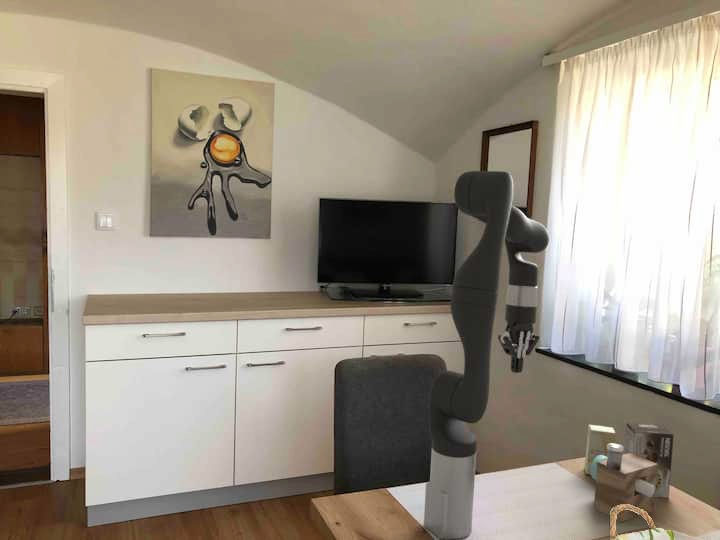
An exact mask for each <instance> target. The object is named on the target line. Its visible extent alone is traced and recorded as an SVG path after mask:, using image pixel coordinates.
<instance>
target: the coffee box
mask: <svg viewBox="0 0 720 540" xmlns="http://www.w3.org/2000/svg"><path fill="white" fill-rule="evenodd" d="M625 433H626V434H625V443H624V454H628V453H632V454H635V455H637V456H640V457H642V458H644V459H647V460H649V461H652V462H654V463H657V464H658V470H657V481H656V492H655V498H666V499H667V498H670V490H671V489H670V487H671V475H672V473H671V472H672V471H671V470H672V460H673V447H674V437H675V436H674V433H673V432H671V431H670V429H669V428H667V426H665V425H664V424H652V423H651V424H650V423H633V422H631V423H630V422H626V430H625Z"/></svg>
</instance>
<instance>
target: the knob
mask: <svg viewBox="0 0 720 540" xmlns="http://www.w3.org/2000/svg"><path fill="white" fill-rule="evenodd" d="M606 459H607V457H606V456H604V455H599V456H597V457H596V458H595V459H594V460H593V462H592V465H591V470H590V472H591V475H590V476H591V477H592V479H594V480H596V475H597V463H598V461H602V460H606ZM635 491H637V492H639V493H641V494H644V495H646V496H648V497H651V496H652V495H653V494H654V492H655V486H654V485H652V484H650V483H648V482H646V481H643V480H641V479H639V478H638V479H635Z"/></svg>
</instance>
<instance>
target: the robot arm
mask: <svg viewBox="0 0 720 540" xmlns="http://www.w3.org/2000/svg"><path fill="white" fill-rule="evenodd" d="M514 189H515V188H514V181H513V176H512V175H511V174H510V173H509V172H507V171H499V170H497V171H496V170H472V171H466V172H464V173H462V174H460V175H459V177H458V178H457V180H456V183H455V185H454V193H453V196H454V203H455V206H456V207H457V209H458V210H459V211H460V212H461V213H462V214H464V215H467V216H469V217H472V218H474V219H476V220H478V221H480V222H482V223H484V224H485V227H484V230H483V233H482V236H481V238H480V239H479V242H478V244H477V245H476V246H475V247H474V249H473V251H472V252H471V253H470V254H469V255H468V256H467V258H466V259H465V261H463V263H462V264H461V266H459V268H458V269H457V271H456V273H455V275H454V278H453V283H452V285H453V286H452V288H451V289H452V290H451V291H452V292H451V299H450V312H451V316H452V320H453V323H454V326H455V328H456V331H457V333H458V336H459V339H460V342H461V344H462V347H463V348H462V349H463V355H464V366H463V367H464V369H463V373H461V372H456V371H453V370H448V369H447V370H446V369H445V370H442V371H440V372H439V373H437V374H436V376H435V377H434V379H433V381H432V382H431V383H432V384H431V386H430V392H429V401H428V402H429V403H428V404H429V405H428V406H429V408H428V409H429V410H428V413H429V416H428V417H429V422H428V423H429V424H428V425H429V428H428V429H429V436H430V439H431V454H430V455H431V456H430V473H429V475H430V476H429V481H427V482H426V483H425V497H424V514H423V516H424V517H423V526H424V527H425V528H427V529H428V530H429V531H430V532H431V533H433V534H434V535H435V536H436V537H438V538H439V539H441V540H443V539H451V540H453V539H454V540H458V539H462V538H467V537H468V536H470V534H471V533H472V529H473V527H472V526H473V511H474V497H475V494H474V493H475V479H476V478H475V477H476V464H477V447H478V445H477V438H476V436H475V435H474V434H473V433H472V432H471V431H470V430H469V429H468V428H467V427H466V426H465V424H464V423H467V424H477V423H478V422H479V421H481V420H482V418H483V417H484V414H485V412H486V410H487V407H488V401H489V394H490V375H491V374H490V372H491V370H490V369H491V352H492V351H491V350H492V341H493V331H494V323H495V316H496V311H497V305H498V304H497V303H498V298H499V297H498V296H499V290H500V289H499V286H500V278H501V277H500V275H501V270H502V269H501V267H502V259H503V252H504V245H505V249H506V254H507V260H508V266H509V267H508V270H509V272H508V287H507V292H506V299H505V313H504V314H505V316H504V320H505V322H506V324H507V325H506V327H505V332H504V333H503V334H499V335H498V337H497V339H498V341H499V343H500V345H501V347H502V349H503V351H504V354H505V355H507V356H509V357H511V361H510V371H511V373H515V374H521V373H522V372H523V368H524V359H525V358H526V356H531V353H532V352H533V349H534V348H536V347H535V346H536V345H537V343H538V341H539V340H540V335H537V334H535V333H534V327H533V326H534V324H536V321H537V311H538V310H537V308H538V283H539V282H538V281H539V265H537V264H536V263H534V262H531V261H527V260H524V259H523V257H522V255H521V253H529V254H530V253H532V254H537V253H540V252H541V253H542V252H544V251H545V250H546V249H547V247H548V245H549V242H550V237H549V232H548V230H547V228H546V227H545V225H544V224H542V223H541V222H539V221H537V220H533V219H531V218H529V217H527V215H526V214H524V212H522V210H520V209H519V208H518V207H516V206H515V205H513V200H514Z"/></svg>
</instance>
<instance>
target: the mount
mask: <svg viewBox="0 0 720 540" xmlns="http://www.w3.org/2000/svg"><path fill="white" fill-rule="evenodd" d="M657 470H658V464H657V463H654V462H652V461H649V460H647V459H644V458H642V457H640V456H637V455H635V454H632V453H628V454H625V453H624V454H622V463H621V469H620V470H614V469H610V468H608V467H607V459H606V460H602V461H598V463H597V475H596V479H595V488H594V489H595V490H594V502H593V508H594V509H596V510H597V511H600V512H601V513H602V514H603V513H604V514H605V515H606V516H609V517H611V516H610V511H611V509H612V508H613V507H615V506H617V505H620V504H630V505H633V506H635V507H638V508H640V509H643V510H644V511H646V512H647V513H650V512H652V511H654V510H655V502H656V497H655V492H656V481H657ZM638 478H639V479H641V480H643V481H646V482H648V483H650V484H652V485H654V486H655V492H654V494H653V495H652V496H651V497H648V496H646V495H644V494H641V493H639V492H637V491H635V479H638ZM635 516H636V517H638V514H637V513H635V512H633V511H630V510H623V511H621V512H619V513H618V514H617V520H616V521H617V522H620V521H622V522H624V521H623V520H625V521H627V520H626V519H628V520H630V519H633V518H635ZM629 518H630V519H629Z"/></svg>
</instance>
